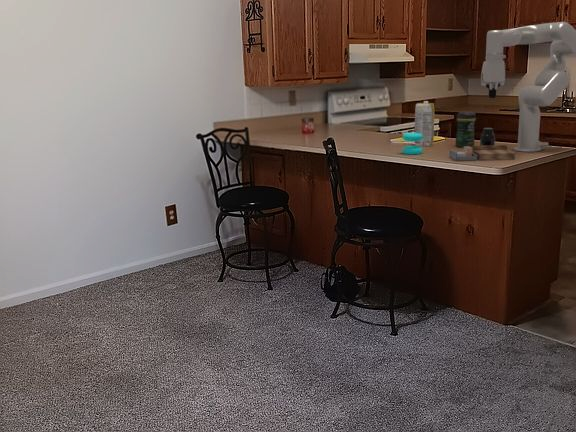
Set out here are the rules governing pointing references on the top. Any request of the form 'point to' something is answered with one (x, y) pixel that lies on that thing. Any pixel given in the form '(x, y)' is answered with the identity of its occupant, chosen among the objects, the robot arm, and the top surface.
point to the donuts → (412, 137)
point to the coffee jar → (465, 129)
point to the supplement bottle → (487, 137)
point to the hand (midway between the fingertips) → (492, 98)
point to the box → (466, 158)
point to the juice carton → (424, 123)
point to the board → (493, 152)
